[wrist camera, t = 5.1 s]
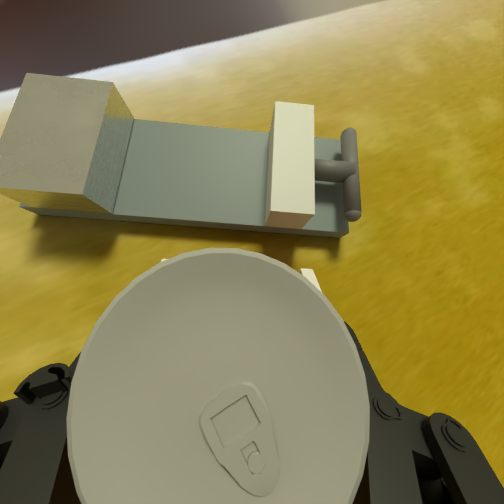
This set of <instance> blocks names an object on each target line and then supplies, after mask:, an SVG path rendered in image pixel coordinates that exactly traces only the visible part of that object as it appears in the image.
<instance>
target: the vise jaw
mask: <svg viewBox="0 0 504 504" xmlns="http://www.w3.org/2000/svg"><path fill="white" fill-rule="evenodd" d="M133 121H134V117H133V115H132V114H131V112H130V110H129V109H128V107H127V105H126V104H125V102H124V100H123V99H122V97H121V95H120V94H119V92H118V90H117V89H116V87H115V85H114V84H113V82H106V81H97V80H87V79H78V78H69V77H60V76H51V75H40V74H32V73H27V74H26V76H25V78H24V81H23V83H22V86H21V88H20V91H19V93H18V96H17V98H16V101H15V103H14V106H13V108H12V111H11V114H10V116H9V119H8V121H7V124H6V126H5V129H4V131H3V134H2V136H1V139H0V194H1V195H4V196H6V197H8V198H11V199H13V200H16V201H18V202H20V203H23V204H25V205H27V206H30V207H34V208H47V209H60V210H72V211H85V212H98V213H110V214H112V212H113V208H114V204H115V199H116V195H117V191H118V186H119V182H120V177H121V173H122V169H123V164H124V160H125V156H126V151H127V147H128V143H129V138H130V134H131V130H132V125H133Z"/></svg>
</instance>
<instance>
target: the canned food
mask: <svg viewBox="0 0 504 504" xmlns="http://www.w3.org/2000/svg"><path fill="white" fill-rule="evenodd" d="M66 420H67V443H68V458H69V462H70V466H71V471H72V475H73V479H74V484H75V488H76V492H77V495H78V497H79V499H80V501H81V504H352V503H353V501H354V498H355V495H356V493H357V490H358V487H359V485H360V482H361V479H362V477H363V472H364V467H365V461H366V456H367V451H368V445H369V426H370V405H369V398H368V391H367V385H366V378H365V373H364V370H363V367H362V364H361V361H360V357H359V354H358V351H357V348H356V345H355V343H354V341H353V339H352V337H351V335H350V333H349V331H348V329H347V327H346V325H345V323H344V321H343V319H342V318H341V317H340V315H339V314H338V312H337V311H336V310H335V308H334V307H333V306H332V304H331V303H330V302H329V300H328V299H327V298H326V296H325V295H324V294H323V293H322V292H321V291H320V290H318V289H317V288H316V287H315V286H314V285H313V284H312V283H311V282H310V281H309V280H308V279H307V278H306V277H304V276H303V275H301V274H300V273H298V272H297V271H295V270H294V269H292V268H291V267H289V266H288V265H286V264H285V263H283V262H280V261H278V260H275V259H273V258H271V257H268V256H266V255H263V254H261V253H257V252H252V251H247V250H243V249H238V248H207V249H201V250H196V251H190V252H185V253H182V254H180V255H177V256H175V257H172V258H170V259H167V260H165V261H162V262H160V263H158V264H157V265H155V266H154V267H152V268H150V269H149V270H147V271H146V272H144V273H142V274H141V275H139V276H138V277H136V278H135V279H134V280H133V281H132V282H131V283H130V284H129V285H128V286H127V287H125V288H124V289H123V290H122V291H121V292H120V293H119V294H118V295H117V296H116V297H115V298H114V299H113V301H112V302H111V303H110V305H109V306H108V307H107V308H106V310H105V311H104V312H103V314H102V315H101V316H100V318H99V319H98V320H97V322H96V324H95V326H94V327H93V329H92V331H91V333H90V335H89V337H88V339H87V341H86V343H85V345H84V347H83V349H82V351H81V354H80V357H79V360H78V364H77V367H76V370H75V373H74V376H73V379H72V383H71V389H70V396H69V404H68V411H67V419H66Z"/></svg>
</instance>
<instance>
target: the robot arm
mask: <svg viewBox="0 0 504 504" xmlns="http://www.w3.org/2000/svg"><path fill="white" fill-rule="evenodd" d="M165 260H167V259H162V261H165ZM162 261H161V262H162ZM299 273H300V274H301V275H303V276H304V277H306V278H307V279H308V280H309V281H310V282H311V283H312V284H313V285H314V286H315V287H316V288H317V289H318V290H320V291H321V289H320V286H319V284H318V282H317V279H316V277H315V274H314V272H313V270H312V269H303V268H300V272H299ZM321 292H322V291H321ZM344 323H345V325H346V327H347V329H348V331H349V333H350V335H351V337H352V339H353V341H354V343H355V345H356V348H357V351H358V354H359V357H360V361H361V364H362V367H363V370H364V373H365V378H366V385H367V391H368V398H369V405H370V426H369V445H368V451H367V456H366V461H365V467H364V472H363V477H362V479H361V482H360V485H359V487H358V490H357V493H356V495H355V498H354V501H353V503H352V504H504V488H503V486H502V485H501V483H500V481H499V480H498V478H497V476H496V475H495V473H494V471H493V470H492V468H491V466H490V465H489V463H488V461H487V459H486V458H485V456H484V454H483V453H482V451H481V449H480V448H479V446H478V444H477V443H476V441H475V440H474V438H473V437H472V436H471V434H470V433H469V432H468V431H467V430H466V429H465V428H464V427H463V426H462V425H461V424H460V423H459V422H458V421H456V420H455V419H453V418H452V417H451V416H448V415H446V414H443V413H434V414H432V415H431V416H429V417H428V416H425V415H423V414H420V413H418V412H415V411H413V410H410V409H408V408H405V407H403V406H401V405H399V404H398V403H397V401H396V400H395V399H394V398H393V397H392V396H391V395H390V394H388V393H386V392H385V391H384V390H383V389H382V387H381V385H380V384H379V382H378V379H377V377H376V375H375V373H374V371H373V369H372V367H371V365H370V363H369V361H368V359H367V357H366V355H365V353H364V351H362V347H361V345H360V343H359V342H358V339H357V337H356V335H355V333H354V331H353V330H352V328H351V327H350V326H349V325H348V324H347V323H346V322H345V321H344ZM80 354H81V352H80ZM80 354H79V355H78V356H77V357H76V359H75V360H74V361H73V363H72V364H71V365H70V367H68V366H67V365H66V364H62V363H55V364H50V365H47V366H45V367H42V368H40V369H38V370H37V371H35V372H34V373H32V374H30V375H29V376H28V377H27V378H26V379H25V380H24V381H22V382H21V383H20V385H19V386H18V387H17V389H16V390H15V392H14V394H15V395H16V396H18V398H15V399H11V400H7V401H4V402H1V401H0V504H81V501H80V499H79V497H78V495H77V492H76V488H75V484H74V479H73V475H72V471H71V466H70V462H69V458H68V443H67V420H66V419H67V411H68V404H69V396H70V389H71V383H72V379H73V376H74V373H75V370H76V367H77V364H78V360H79V357H80Z"/></svg>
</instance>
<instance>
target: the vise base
mask: <svg viewBox="0 0 504 504" xmlns="http://www.w3.org/2000/svg"><path fill="white" fill-rule="evenodd" d="M19 207H21V208H24V209H26V210H29V211H31V212H34V213H36V214H39V215H51V216H64V217H77V218H90V219H103V220H115V221H128V222H141V223H154V224H167V225H180V226H193V227H206V228H219V229H231V230H244V231H257V232H270V233H283V234H296V235H309V236H322V237H335V238H341V237H342V236H344V235H346V234H348V233H349V225H348V221H350V222H354V221H357V220H358V219H359V218H360V217H361V198H360V183H359V167H358V151H357V136H356V131H355V129H353V128H347V129H345V130H344V131H343V132H342V134H341V140H337V139H327V138H317V137H314V105H306V104H297V103H287V102H278V101H275V106H274V111H273V117H272V122H271V127H270V133H267V132H257V131H247V130H238V129H228V128H218V127H208V126H198V125H188V124H178V123H168V122H158V121H148V120H138V119H134V121H133V125H132V130H131V134H130V138H129V143H128V147H127V151H126V156H125V160H124V164H123V169H122V173H121V177H120V182H119V186H118V191H117V195H116V199H115V204H114V208H113V212H112V214H110V213H98V212H85V211H72V210H60V209H47V208H34V207H30V206H27V205H25V204H23V203H20V206H19Z"/></svg>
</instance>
